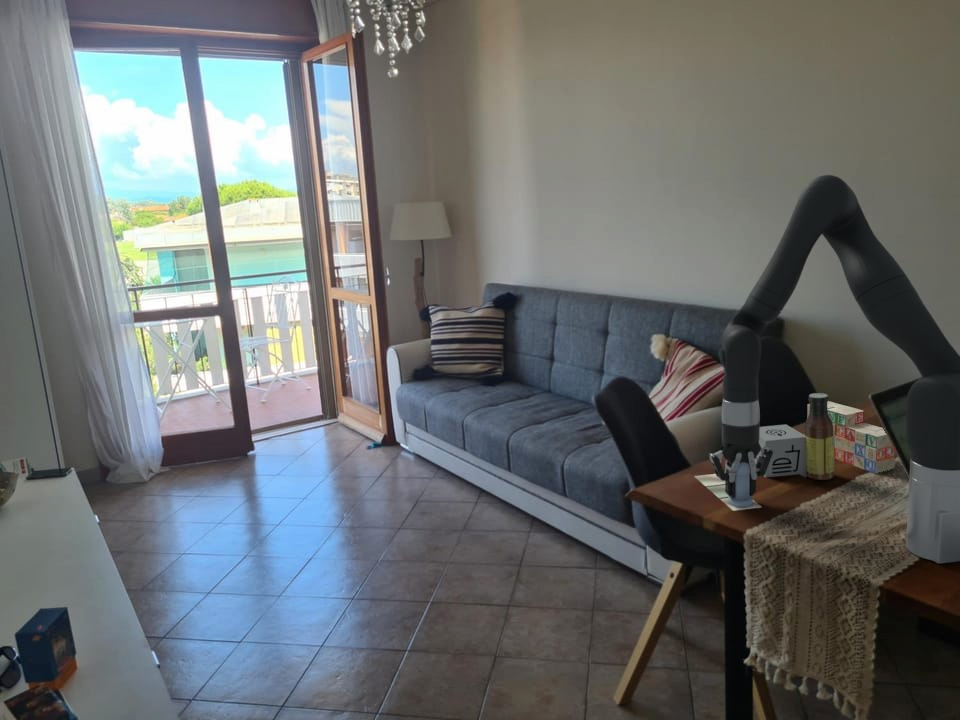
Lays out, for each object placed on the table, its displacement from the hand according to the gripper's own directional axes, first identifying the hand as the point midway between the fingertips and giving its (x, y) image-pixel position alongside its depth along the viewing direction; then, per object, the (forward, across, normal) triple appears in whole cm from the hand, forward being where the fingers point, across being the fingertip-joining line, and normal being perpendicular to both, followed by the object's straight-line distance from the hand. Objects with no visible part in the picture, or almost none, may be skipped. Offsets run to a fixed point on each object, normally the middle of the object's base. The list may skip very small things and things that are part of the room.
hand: (740, 495), depth 153 cm
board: (+3, 0, -7) cm, 7 cm away
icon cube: (+3, -17, -17) cm, 24 cm away
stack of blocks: (+3, -38, -20) cm, 43 cm away
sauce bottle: (+3, -24, -11) cm, 27 cm away
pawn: (+2, 0, 0) cm, 2 cm away
